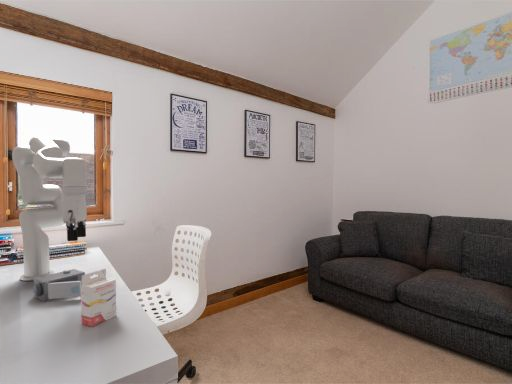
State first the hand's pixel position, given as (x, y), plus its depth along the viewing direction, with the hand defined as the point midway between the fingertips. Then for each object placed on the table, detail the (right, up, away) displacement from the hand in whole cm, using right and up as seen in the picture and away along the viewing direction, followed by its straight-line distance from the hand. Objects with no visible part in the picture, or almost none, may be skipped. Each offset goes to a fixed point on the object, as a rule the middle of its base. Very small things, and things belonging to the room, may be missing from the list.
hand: (77, 238), depth 109 cm
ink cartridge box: (+19, -22, -19) cm, 35 cm away
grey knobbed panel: (-9, -22, +4) cm, 24 cm away
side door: (-3, -21, -4) cm, 22 cm away
